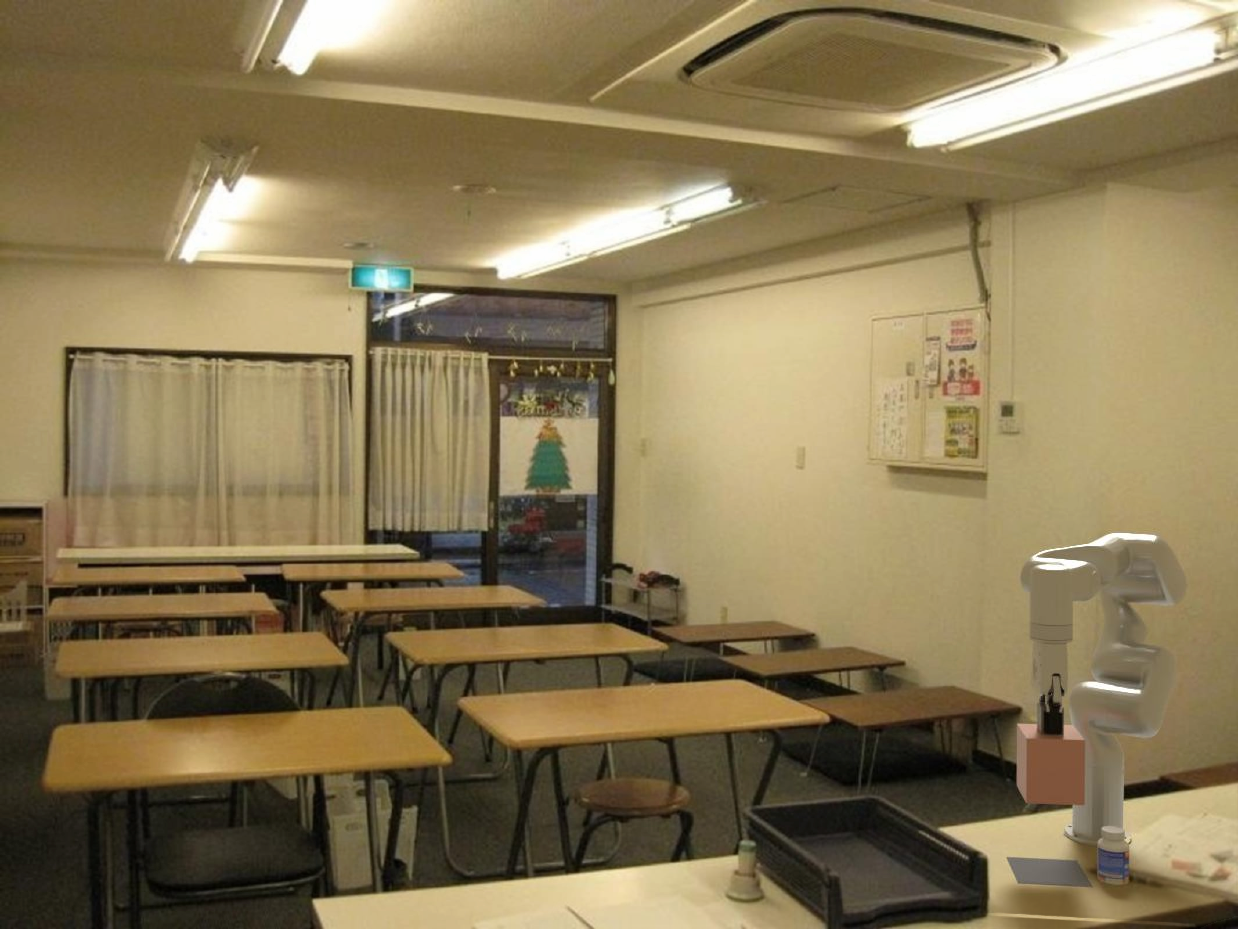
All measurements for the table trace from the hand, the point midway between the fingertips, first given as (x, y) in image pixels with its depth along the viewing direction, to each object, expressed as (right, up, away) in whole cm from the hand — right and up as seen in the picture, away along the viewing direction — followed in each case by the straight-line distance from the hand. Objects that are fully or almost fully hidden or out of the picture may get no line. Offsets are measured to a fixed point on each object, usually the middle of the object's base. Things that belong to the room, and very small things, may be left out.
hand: (1050, 728), depth 226 cm
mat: (0, -27, +1) cm, 27 cm away
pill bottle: (+11, -28, -3) cm, 30 cm away
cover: (0, -12, +1) cm, 12 cm away
